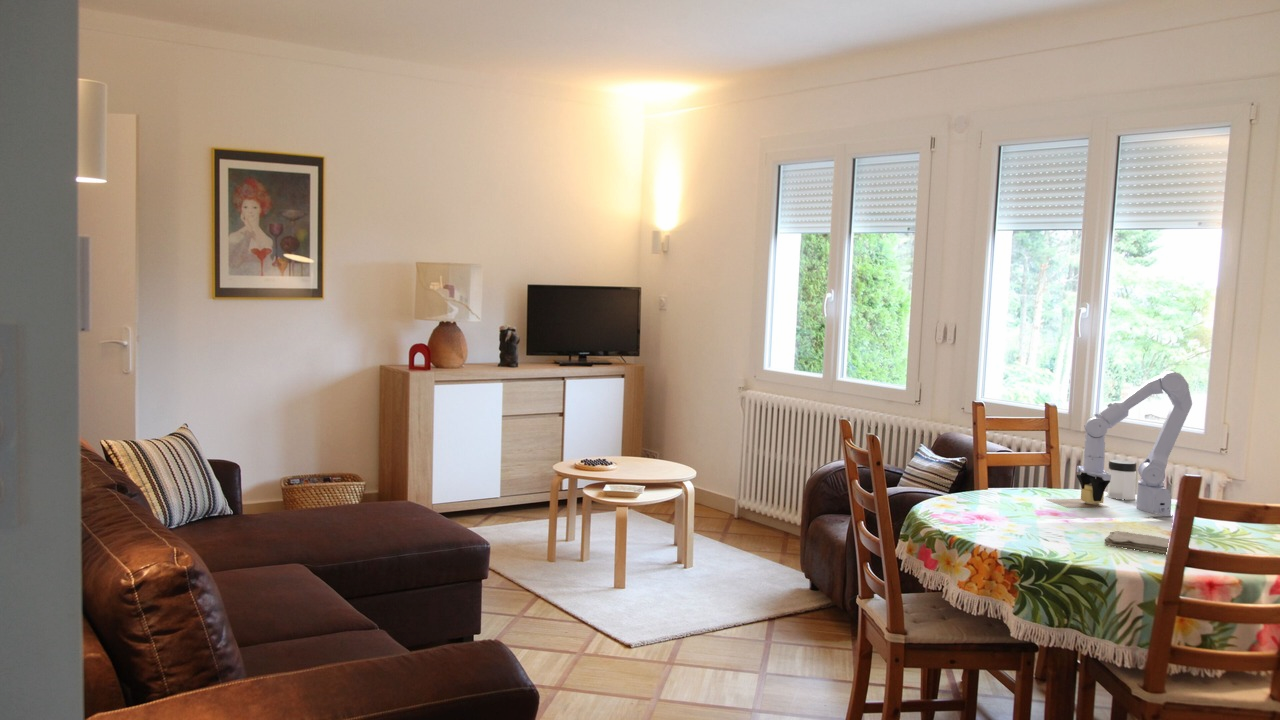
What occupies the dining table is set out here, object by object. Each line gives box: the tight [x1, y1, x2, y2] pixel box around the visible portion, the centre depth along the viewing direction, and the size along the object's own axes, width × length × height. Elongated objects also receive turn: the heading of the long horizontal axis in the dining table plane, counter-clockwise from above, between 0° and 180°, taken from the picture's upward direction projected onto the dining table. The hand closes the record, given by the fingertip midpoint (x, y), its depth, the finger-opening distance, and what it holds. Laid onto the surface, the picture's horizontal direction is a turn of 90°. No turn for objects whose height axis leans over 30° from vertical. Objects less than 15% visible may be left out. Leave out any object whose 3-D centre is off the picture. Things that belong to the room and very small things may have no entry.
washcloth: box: [1104, 530, 1170, 556], centre depth 252 cm, size 12×18×3 cm, turn 55°
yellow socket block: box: [1080, 483, 1105, 504], centre depth 299 cm, size 5×5×6 cm
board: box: [1045, 498, 1109, 509], centre depth 300 cm, size 12×14×1 cm
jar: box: [1106, 459, 1137, 501], centre depth 315 cm, size 9×8×12 cm
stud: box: [1085, 502, 1100, 506], centre depth 299 cm, size 4×4×4 cm
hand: (1092, 499), depth 299 cm, fingers closed on yellow socket block, 5 cm apart
